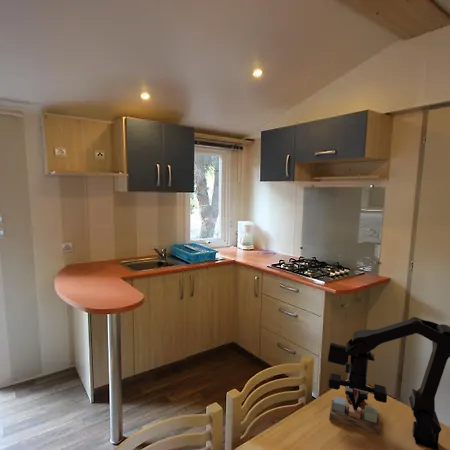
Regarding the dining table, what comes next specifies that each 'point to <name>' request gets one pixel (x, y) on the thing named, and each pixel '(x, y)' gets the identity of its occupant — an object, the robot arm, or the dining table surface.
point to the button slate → (339, 404)
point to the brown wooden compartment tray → (354, 420)
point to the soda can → (355, 393)
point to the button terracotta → (354, 412)
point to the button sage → (370, 414)
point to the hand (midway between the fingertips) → (355, 409)
